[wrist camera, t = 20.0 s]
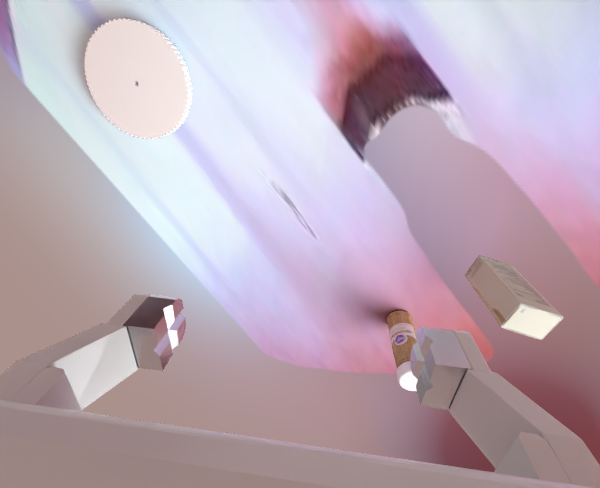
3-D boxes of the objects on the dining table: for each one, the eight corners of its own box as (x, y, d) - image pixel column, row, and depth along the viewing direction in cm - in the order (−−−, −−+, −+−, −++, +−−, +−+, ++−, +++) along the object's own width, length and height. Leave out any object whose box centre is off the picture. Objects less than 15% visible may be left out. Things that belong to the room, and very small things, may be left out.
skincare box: (463, 275, 51) (497, 327, 40) (478, 253, 49) (518, 302, 38) (498, 287, 51) (542, 342, 40) (515, 266, 49) (565, 318, 38)
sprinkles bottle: (399, 305, 55) (416, 366, 43) (417, 319, 56) (438, 382, 44) (380, 319, 57) (391, 381, 45) (397, 332, 58) (413, 396, 46)
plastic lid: (215, 84, 42) (208, 84, 39) (160, 156, 47) (152, 159, 45) (128, -7, 38) (115, -13, 36) (80, 82, 43) (66, 82, 41)
